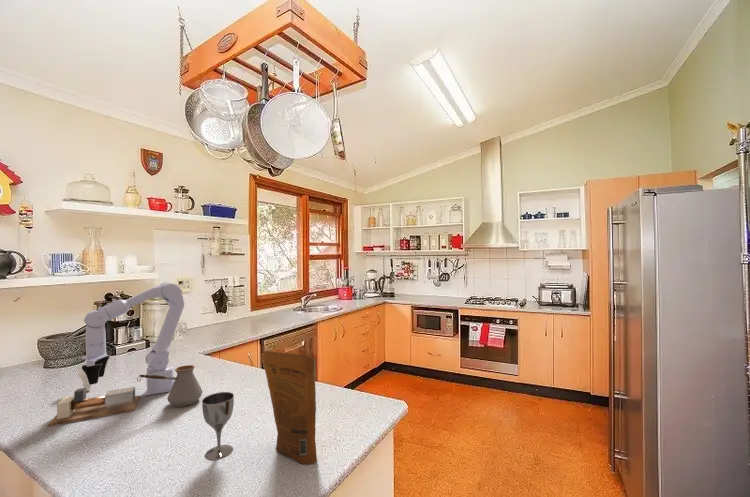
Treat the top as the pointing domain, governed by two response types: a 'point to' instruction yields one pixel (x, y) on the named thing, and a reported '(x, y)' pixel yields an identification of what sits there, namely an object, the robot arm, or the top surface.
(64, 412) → the cream rectangular block
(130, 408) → the walnut board
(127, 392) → the sleeve
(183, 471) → the top surface
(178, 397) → the coffee pot
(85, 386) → the lightbulb
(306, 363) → the pancake mix bag
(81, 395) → the brown piece
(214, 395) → the wine glass
